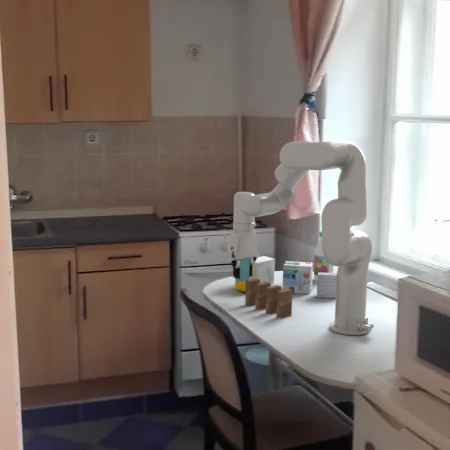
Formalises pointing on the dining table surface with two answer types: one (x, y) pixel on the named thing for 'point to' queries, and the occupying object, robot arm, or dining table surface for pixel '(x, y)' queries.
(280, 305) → the tile
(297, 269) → the light bulb box
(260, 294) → the tile
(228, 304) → the dining table surface
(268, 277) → the skincare box
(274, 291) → the tile
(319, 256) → the milk bottle
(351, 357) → the dining table surface
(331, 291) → the medicine box
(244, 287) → the duckling
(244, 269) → the teal tile
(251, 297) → the tile
